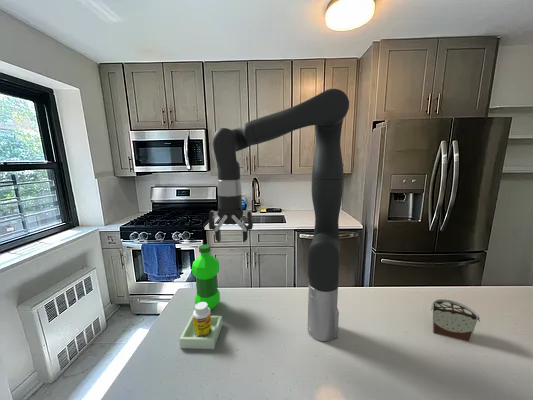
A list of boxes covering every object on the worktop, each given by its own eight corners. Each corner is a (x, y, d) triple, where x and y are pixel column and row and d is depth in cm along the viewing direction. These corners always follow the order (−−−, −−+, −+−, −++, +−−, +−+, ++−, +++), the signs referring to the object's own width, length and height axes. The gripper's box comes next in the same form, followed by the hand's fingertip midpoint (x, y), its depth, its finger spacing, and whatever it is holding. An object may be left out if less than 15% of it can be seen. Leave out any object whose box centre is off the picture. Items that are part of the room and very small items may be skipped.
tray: (222, 324, 80) (221, 315, 79) (214, 349, 70) (213, 339, 69) (192, 323, 80) (191, 315, 80) (180, 348, 70) (179, 338, 69)
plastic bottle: (211, 295, 97) (207, 239, 93) (226, 305, 90) (224, 245, 86) (189, 307, 90) (184, 246, 85) (205, 319, 83) (200, 254, 78)
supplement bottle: (197, 342, 71) (195, 313, 69) (192, 331, 76) (190, 304, 74) (214, 335, 74) (212, 306, 72) (208, 324, 79) (206, 298, 77)
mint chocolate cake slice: (468, 330, 76) (473, 303, 74) (475, 344, 70) (480, 315, 69) (424, 320, 81) (427, 294, 79) (427, 332, 75) (431, 305, 74)
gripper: (252, 191, 77) (253, 237, 80) (211, 191, 77) (213, 237, 80) (250, 195, 69) (251, 245, 72) (204, 195, 70) (207, 245, 73)
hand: (231, 241), depth 76 cm, fingers open, 8 cm apart
